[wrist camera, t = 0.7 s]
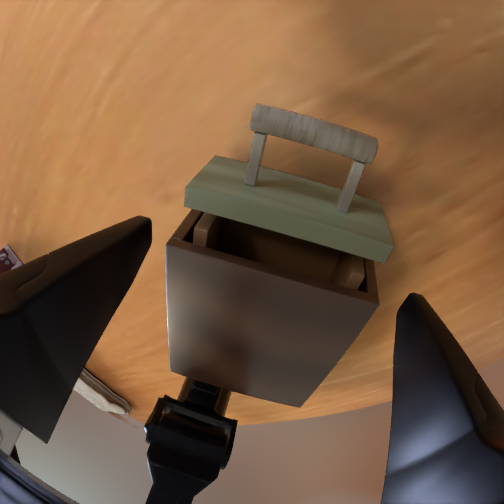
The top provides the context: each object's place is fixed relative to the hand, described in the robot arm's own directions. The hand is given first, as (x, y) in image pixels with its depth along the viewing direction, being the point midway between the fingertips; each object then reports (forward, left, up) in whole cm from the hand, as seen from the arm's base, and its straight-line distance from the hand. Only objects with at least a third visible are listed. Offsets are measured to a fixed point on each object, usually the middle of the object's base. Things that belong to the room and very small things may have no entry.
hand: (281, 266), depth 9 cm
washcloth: (-54, +28, -11) cm, 62 cm away
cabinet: (-12, 0, -11) cm, 16 cm away
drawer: (-6, 0, -10) cm, 12 cm away
